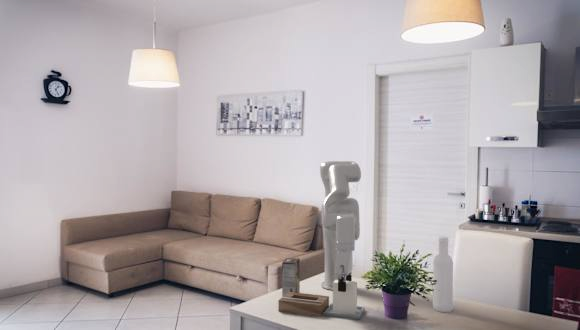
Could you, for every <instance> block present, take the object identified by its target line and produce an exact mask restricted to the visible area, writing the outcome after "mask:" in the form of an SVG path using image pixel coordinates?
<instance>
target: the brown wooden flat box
mask: <svg viewBox="0 0 580 330" xmlns="http://www.w3.org/2000/svg"><path fill="white" fill-rule="evenodd" d="M329 306H330V296H329V295H322V294H321V295H320V294H311V293H304V292H303V293H302V292H300V293H295V292H288V293H287V294H285V295H284V296H283V297H281V298H279V299H278V312H281V313H282V312H283V313H289V314H290V313H291V314H298V315H299V314H300V315H306V316H307V315H308V316H315V317H322V316H323V315H322V314H324V312H325V311H326V309H327V308H328V307H329Z"/></svg>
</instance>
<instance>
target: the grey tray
mask: <svg viewBox="0 0 580 330" xmlns="http://www.w3.org/2000/svg"><path fill="white" fill-rule="evenodd" d="M365 309H366V307H365V306H359V305H357V312H356V313H355V314H347V313H338V312H333V302H331V304H330V303H329V307H328V308H327V309H326V311H325V312H324V313H323V314H324V315H325V316H326V317H333V318H344V319H351V320H357V321H358V320H359V321H360V319H361V318H362V316H363V315H364V313H365V311H366V310H365Z"/></svg>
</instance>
